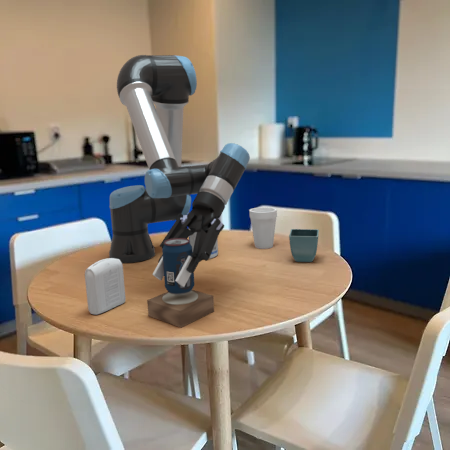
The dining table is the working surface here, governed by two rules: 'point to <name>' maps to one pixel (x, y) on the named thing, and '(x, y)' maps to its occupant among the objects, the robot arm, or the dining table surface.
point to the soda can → (176, 264)
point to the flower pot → (303, 244)
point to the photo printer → (104, 285)
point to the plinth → (180, 307)
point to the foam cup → (263, 226)
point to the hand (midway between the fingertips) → (168, 280)
